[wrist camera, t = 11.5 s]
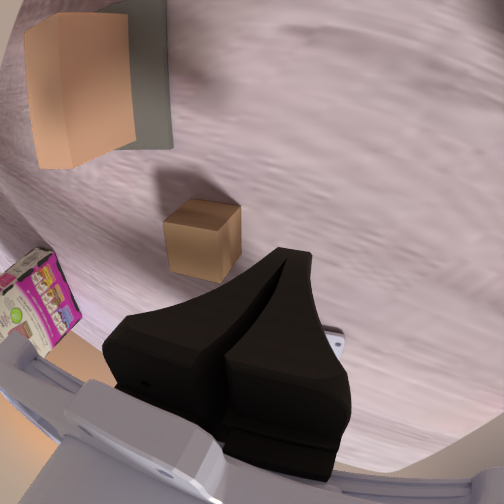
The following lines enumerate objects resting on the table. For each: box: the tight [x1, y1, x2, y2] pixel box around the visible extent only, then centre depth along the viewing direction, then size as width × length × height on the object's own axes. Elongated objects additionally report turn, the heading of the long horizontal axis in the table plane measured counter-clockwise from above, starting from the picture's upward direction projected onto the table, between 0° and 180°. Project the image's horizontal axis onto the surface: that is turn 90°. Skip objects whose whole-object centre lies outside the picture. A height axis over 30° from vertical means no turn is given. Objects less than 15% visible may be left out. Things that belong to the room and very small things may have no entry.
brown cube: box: [163, 199, 241, 284], centre depth 23 cm, size 4×4×4 cm
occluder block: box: [24, 12, 136, 169], centre depth 17 cm, size 10×4×6 cm, turn 1°
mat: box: [95, 0, 174, 150], centre depth 20 cm, size 12×10×1 cm
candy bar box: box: [0, 247, 82, 358], centre depth 31 cm, size 11×5×16 cm, turn 4°
